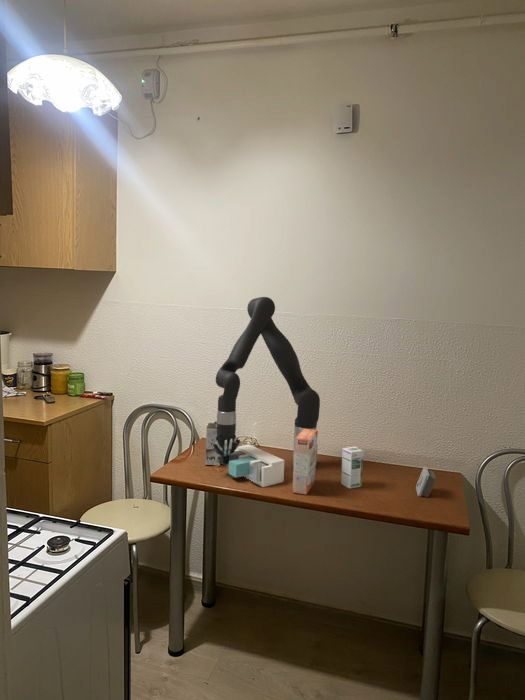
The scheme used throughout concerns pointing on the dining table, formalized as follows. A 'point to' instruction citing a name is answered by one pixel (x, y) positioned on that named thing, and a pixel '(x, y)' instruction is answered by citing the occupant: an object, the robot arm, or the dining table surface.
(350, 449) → the syrup box
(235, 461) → the teal plug
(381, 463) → the dining table surface
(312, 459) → the cracker box
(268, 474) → the socket housing
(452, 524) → the dining table surface
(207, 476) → the dining table surface
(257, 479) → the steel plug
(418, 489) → the electrical switch
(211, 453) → the coffee box
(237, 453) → the charcoal plug
